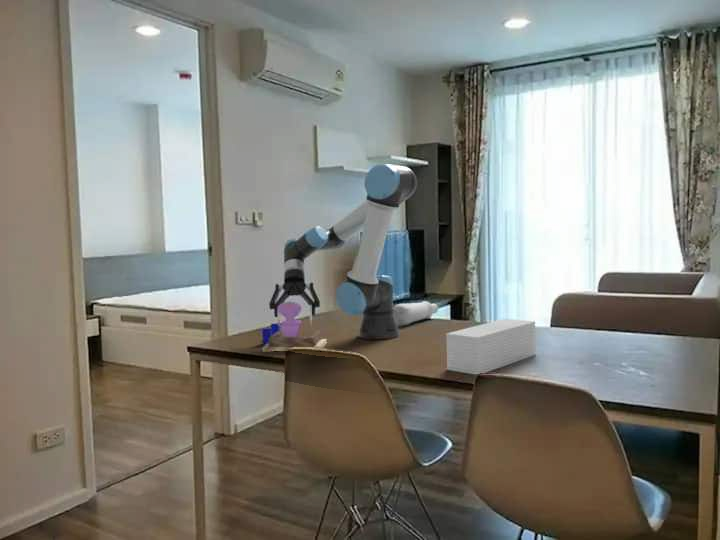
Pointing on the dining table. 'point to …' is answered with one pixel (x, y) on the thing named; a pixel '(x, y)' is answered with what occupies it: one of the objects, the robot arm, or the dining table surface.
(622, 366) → the dining table surface
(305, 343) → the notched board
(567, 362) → the dining table surface
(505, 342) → the stack of papers
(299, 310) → the purple upright piece
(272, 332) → the cable clip
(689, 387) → the dining table surface
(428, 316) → the bottle
